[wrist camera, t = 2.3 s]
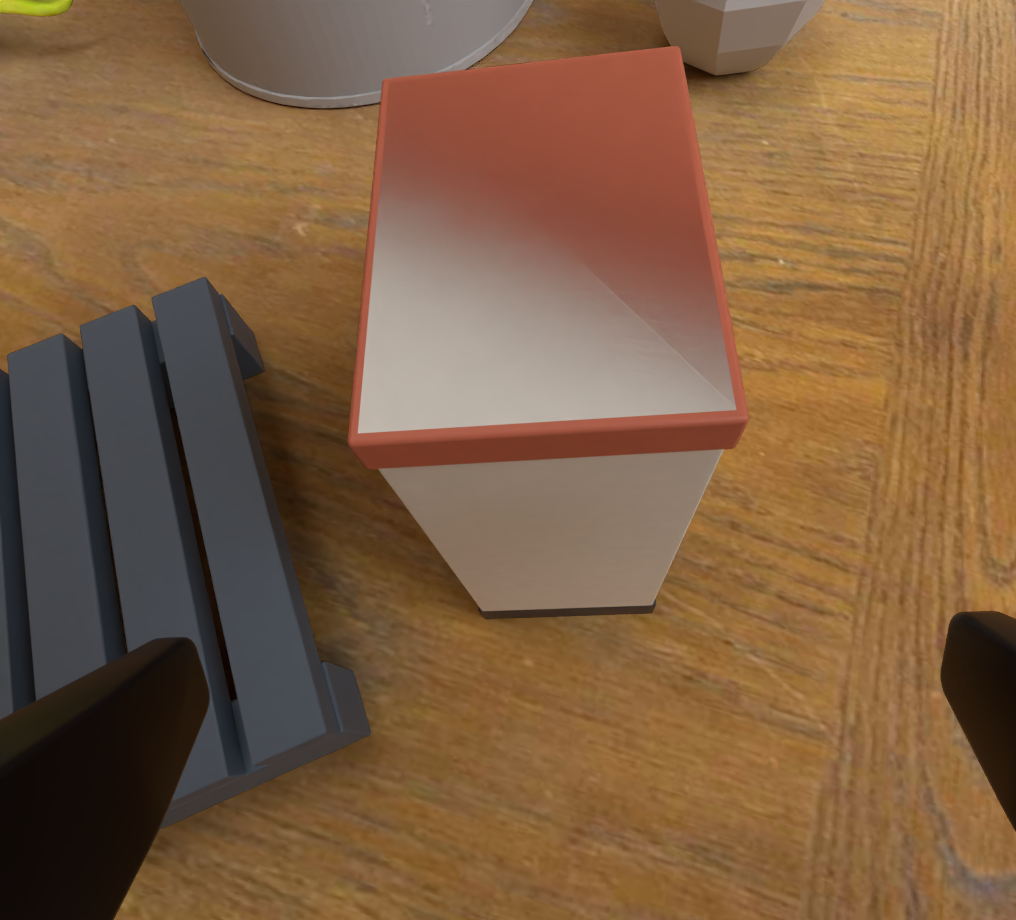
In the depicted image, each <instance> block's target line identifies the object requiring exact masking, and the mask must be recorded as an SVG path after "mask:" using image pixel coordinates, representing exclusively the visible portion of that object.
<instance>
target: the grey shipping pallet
mask: <svg viewBox="0 0 1016 920" xmlns="http://www.w3.org/2000/svg"><path fill="white" fill-rule="evenodd" d="M152 303H153V308H154V312H155V317H156V320H155V321H152V322H151V321H150V320H149V319H148V318H147V317H146V316H145V315H144V314H143V313H142V312H141V311H140V310H139V309H138V308H137V307H136V306H135V305H131V306H129V307H126V308H124V309H121V310H119V311H116V312H114V313H111V314H108V315H106V316H103V317H101V318H98V319H96V320H93V321H91V322H88V323H85V324H83V325H81V326H80V332H81V339H82V345H83V349H82V350H81V348H80V347H79V346H77V345H76V344H75V343H74V342H72V341H71V340H70V339H69V338H67V337H66V336H65V335H64V334H58V335H56V336H53V337H51V338H48V339H46V340H43V341H40V342H38V343H35V344H33V345H30V346H28V347H25V348H23V349H20V350H18V351H15V352H12V353H10V354H8V355H7V360H8V372H9V375H8V374H7V373H5V372H4V371H2V370H1V369H0V719H2V718H4V717H6V716H8V715H10V714H12V713H14V712H16V711H18V710H19V709H21V708H23V707H25V706H27V705H29V704H31V703H33V702H35V701H37V700H39V699H40V698H42V697H44V696H46V695H48V694H50V693H52V692H54V691H56V690H58V689H60V688H62V687H63V686H65V685H67V684H69V683H71V682H73V681H75V680H77V679H79V678H81V677H83V676H84V675H86V674H88V673H90V672H92V671H94V670H96V669H98V668H100V667H102V666H104V665H105V664H107V663H109V662H111V661H113V660H115V659H117V658H119V657H121V656H123V655H125V654H126V651H125V644H124V638H123V631H122V624H121V617H120V610H119V603H118V597H117V590H116V583H115V576H114V569H113V562H112V556H111V549H110V542H109V535H108V528H107V521H106V515H105V508H104V501H103V494H102V487H101V480H100V474H99V467H98V460H97V453H96V446H95V439H96V440H97V447H98V454H99V460H100V467H101V474H102V481H103V487H104V494H105V501H106V508H107V514H108V521H109V528H110V535H111V542H112V548H113V555H114V562H115V569H116V575H117V582H118V589H119V596H120V602H121V609H122V616H123V623H124V629H125V636H126V643H127V650H128V652H130V651H132V650H134V649H136V648H138V647H140V646H142V645H144V644H146V643H148V642H149V641H151V640H154V639H157V638H168V637H187V638H189V639H191V640H192V641H193V642H194V643H195V645H196V648H197V651H198V654H199V657H200V660H201V664H202V667H203V670H204V673H205V677H206V680H207V683H208V686H209V691H210V702H209V707H208V710H207V713H206V716H205V718H204V721H203V723H202V726H201V728H200V731H199V733H198V736H197V738H196V741H195V743H194V746H193V748H192V751H191V753H190V756H189V758H188V761H187V763H186V766H185V768H184V771H183V773H182V776H181V778H180V781H179V783H178V786H177V788H176V791H175V793H174V796H173V798H172V801H171V803H170V805H169V808H168V810H167V813H166V815H165V817H164V819H163V822H162V824H161V826H160V829H162V828H164V827H167V826H169V825H171V824H173V823H175V822H178V821H180V820H182V819H184V818H187V817H189V816H191V815H193V814H195V813H198V812H200V811H202V810H204V809H207V808H209V807H211V806H213V805H215V804H218V803H220V802H222V801H224V800H227V799H229V798H231V797H233V796H235V795H238V794H240V793H242V792H244V791H247V790H249V789H251V788H253V787H255V786H258V785H260V784H262V783H264V782H267V781H269V780H271V779H273V778H276V777H278V776H280V775H282V774H284V773H287V772H289V771H291V770H293V769H296V768H298V767H300V766H302V765H304V764H307V763H309V762H311V761H313V760H316V759H318V758H320V757H322V756H324V755H327V754H329V753H331V752H333V751H336V750H338V749H340V748H342V747H344V746H347V745H349V744H351V743H353V742H356V741H358V740H360V739H362V738H364V737H367V736H369V735H370V734H371V730H370V727H369V723H368V720H367V716H366V713H365V710H364V706H363V703H362V700H361V696H360V693H359V689H358V686H357V683H356V679H355V676H354V672H353V671H352V670H349V669H346V668H344V667H341V666H338V665H335V664H332V663H329V662H326V661H321V662H320V659H319V655H318V651H317V648H316V644H315V640H314V637H313V633H312V630H311V626H310V622H309V619H308V615H307V611H306V608H305V604H304V600H303V597H302V593H301V590H300V586H299V582H298V579H297V575H296V571H295V568H294V564H293V560H292V557H291V553H290V550H289V546H288V542H287V539H286V535H285V531H284V528H283V524H282V521H281V517H280V513H279V510H278V506H277V502H276V499H275V495H274V491H273V488H272V484H271V481H270V477H269V473H268V470H267V466H266V462H265V459H264V455H263V451H262V448H261V444H260V441H259V437H258V433H257V430H256V426H255V422H254V419H253V415H252V412H251V408H250V404H249V401H248V397H247V393H246V390H245V386H244V382H243V379H246V378H248V377H251V376H253V375H256V374H258V373H261V372H263V371H264V367H263V364H262V361H261V357H260V354H259V350H258V347H257V344H256V340H255V337H254V334H253V332H252V331H251V330H250V328H249V327H248V326H247V325H246V323H245V322H244V321H243V319H242V318H241V317H240V316H239V314H238V313H237V312H236V311H235V309H234V308H233V307H232V306H231V304H230V303H229V302H228V301H227V299H226V298H225V297H224V296H223V295H222V294H221V295H219V293H218V292H217V291H216V289H215V288H214V287H213V286H212V284H211V283H210V282H209V281H208V279H207V278H206V277H202V278H200V279H197V280H195V281H192V282H190V283H187V284H185V285H182V286H180V287H177V288H174V289H172V290H169V291H167V292H164V293H162V294H159V295H157V296H154V297H152ZM174 407H175V410H176V415H177V419H178V424H179V429H180V433H181V438H182V443H183V447H184V452H185V457H186V461H187V466H188V471H189V475H190V480H191V485H192V489H193V494H194V499H195V503H196V508H197V513H198V517H199V522H200V527H201V531H202V536H203V541H204V545H205V550H206V555H207V559H208V564H209V568H210V573H211V578H212V582H213V587H214V592H215V596H216V601H217V606H218V610H219V615H220V620H221V624H222V629H223V634H224V638H225V643H226V648H227V652H228V657H229V662H230V666H231V671H232V676H233V680H234V685H235V690H236V694H237V699H235V700H232V701H230V696H229V692H228V687H227V682H226V677H225V673H224V668H223V663H222V658H221V653H220V649H219V644H218V639H217V634H216V630H215V625H214V620H213V615H212V611H211V606H210V601H209V596H208V591H207V587H206V582H205V577H204V572H203V568H202V563H201V558H200V553H199V549H198V544H197V539H196V534H195V530H194V525H193V520H192V515H191V510H190V506H189V501H188V496H187V491H186V487H185V482H184V477H183V472H182V468H181V463H180V458H179V453H178V449H177V444H176V439H175V434H174V429H173V425H172V420H171V415H170V410H169V409H172V408H174ZM160 829H159V830H160Z"/></svg>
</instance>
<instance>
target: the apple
mask: <svg viewBox="0 0 1016 920" xmlns="http://www.w3.org/2000/svg"><path fill="white" fill-rule="evenodd" d="M654 1H655V5H656V8H657V12H658V15H659V19H660V22H661V26H662V29H663V32H664V34H665V36H666V38H667V40H668V42H669V44H670V46H678V47H680V50H681V54H682V60H683V61H684V62H685V63H686V64H689V65H691V66H694V67H696V68H698V69H701V70H703V71H706V72H708V73H710V74H713V75H715V76H717V75H725V74H733V73H741V72H748V71H753V70H755V69H757V68H760V67H762V66H764V65H765V64H766V63H767V62H768V61H769V60H770V59H771V58H772V57H773V56H774V55H776V54H777V53H778V52H779V51H780V50H781V49H782V48H783V47H784V46H785V45H786V44H787V43H788V42H789V41H790V40H791V39H792V38H793V37H794V36H795V35H796V34H797V33H798V32H799V31H800V30H801V29H802V28H803V27H804V26H805V25H806V24H807V23H808V22H809V21H810V20H811V19H812V17H813V16H814V15H815V14H816V13H817V12H818V11H819V10H820V9H821V7H822V5H823V4H824V2H825V0H654Z"/></svg>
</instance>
